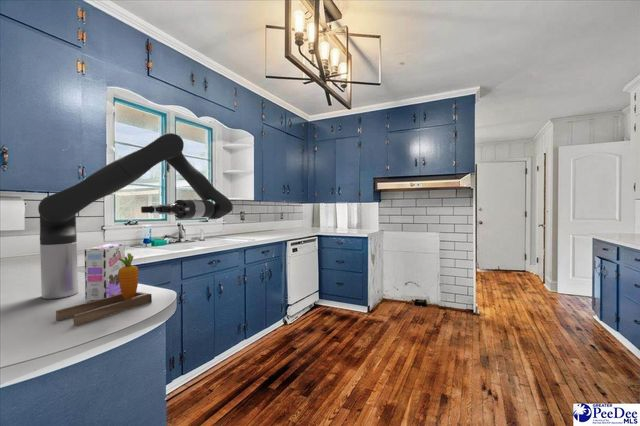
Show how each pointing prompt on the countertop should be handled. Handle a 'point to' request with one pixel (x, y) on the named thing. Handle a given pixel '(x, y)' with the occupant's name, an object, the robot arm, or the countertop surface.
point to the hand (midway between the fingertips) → (150, 209)
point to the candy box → (103, 271)
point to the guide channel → (102, 307)
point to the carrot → (128, 278)
